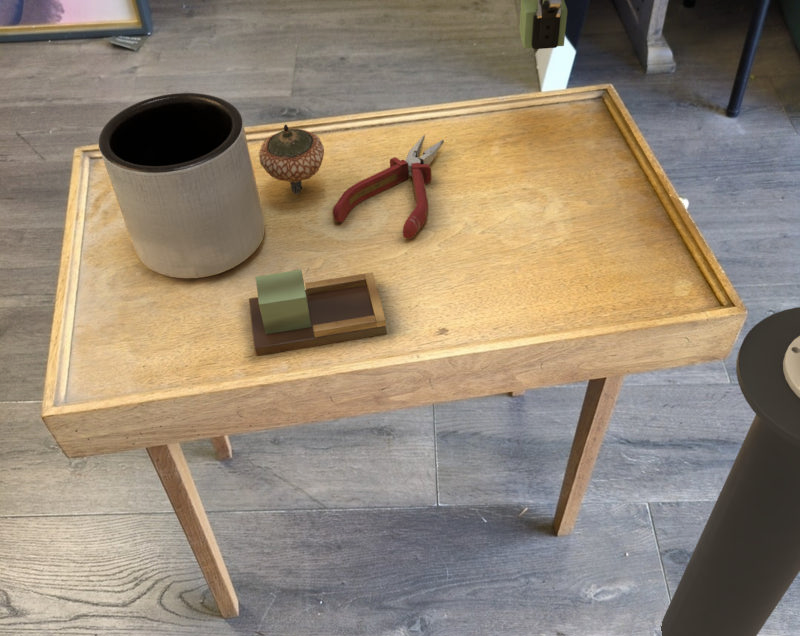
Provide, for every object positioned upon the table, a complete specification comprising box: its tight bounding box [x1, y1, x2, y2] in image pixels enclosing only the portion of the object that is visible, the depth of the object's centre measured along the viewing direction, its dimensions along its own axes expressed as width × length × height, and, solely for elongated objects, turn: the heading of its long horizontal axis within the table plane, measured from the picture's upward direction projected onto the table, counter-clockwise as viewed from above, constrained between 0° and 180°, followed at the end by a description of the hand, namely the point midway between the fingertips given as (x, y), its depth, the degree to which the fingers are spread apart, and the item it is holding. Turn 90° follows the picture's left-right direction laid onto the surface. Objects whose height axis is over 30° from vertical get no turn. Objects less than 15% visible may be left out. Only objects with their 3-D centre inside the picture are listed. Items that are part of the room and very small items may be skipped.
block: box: [518, 0, 568, 49], centre depth 104 cm, size 4×5×4 cm
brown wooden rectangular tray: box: [248, 269, 388, 356], centre depth 91 cm, size 8×14×6 cm, turn 101°
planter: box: [98, 92, 266, 279], centre depth 97 cm, size 16×16×16 cm
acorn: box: [258, 124, 325, 196], centre depth 105 cm, size 8×8×10 cm
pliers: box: [332, 134, 445, 240], centre depth 107 cm, size 12×20×3 cm, turn 156°
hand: (541, 35), depth 105 cm, fingers closed on block, 4 cm apart
